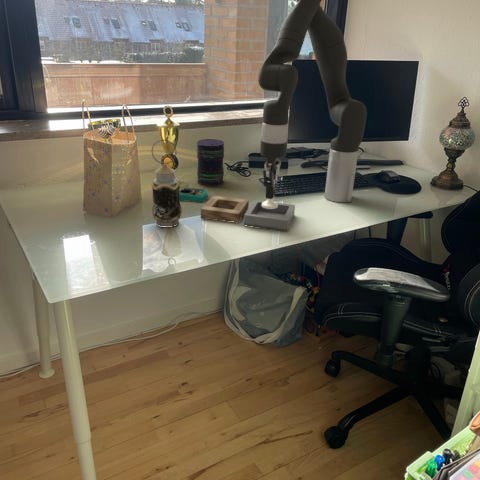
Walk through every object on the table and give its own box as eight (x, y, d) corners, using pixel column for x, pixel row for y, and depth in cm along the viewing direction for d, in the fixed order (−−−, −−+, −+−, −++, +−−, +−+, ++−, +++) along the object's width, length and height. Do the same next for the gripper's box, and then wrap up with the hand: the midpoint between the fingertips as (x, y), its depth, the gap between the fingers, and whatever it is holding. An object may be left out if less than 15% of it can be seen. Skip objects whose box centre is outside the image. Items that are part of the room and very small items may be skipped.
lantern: (151, 229, 132) (145, 143, 121) (153, 218, 139) (148, 136, 129) (181, 228, 133) (179, 143, 122) (182, 217, 140) (180, 136, 129)
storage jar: (195, 178, 174) (194, 139, 168) (220, 177, 176) (221, 138, 170) (199, 187, 166) (199, 146, 159) (226, 185, 168) (226, 145, 161)
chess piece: (272, 210, 135) (275, 177, 131) (258, 206, 138) (260, 174, 133) (280, 205, 139) (283, 173, 135) (266, 201, 141) (268, 170, 137)
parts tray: (294, 215, 144) (295, 204, 143) (286, 231, 133) (287, 220, 132) (254, 210, 147) (254, 199, 146) (243, 225, 136) (244, 215, 135)
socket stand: (248, 208, 148) (248, 200, 147) (238, 223, 138) (238, 213, 136) (213, 204, 151) (213, 195, 150) (200, 217, 141) (200, 208, 139)
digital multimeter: (203, 204, 152) (203, 195, 151) (161, 199, 155) (160, 191, 153) (209, 196, 159) (209, 188, 158) (168, 192, 161) (167, 184, 160)
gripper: (282, 146, 123) (278, 206, 130) (291, 135, 135) (287, 190, 142) (255, 143, 124) (252, 203, 132) (266, 132, 136) (263, 187, 144)
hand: (270, 196), depth 137 cm, fingers closed on chess piece
